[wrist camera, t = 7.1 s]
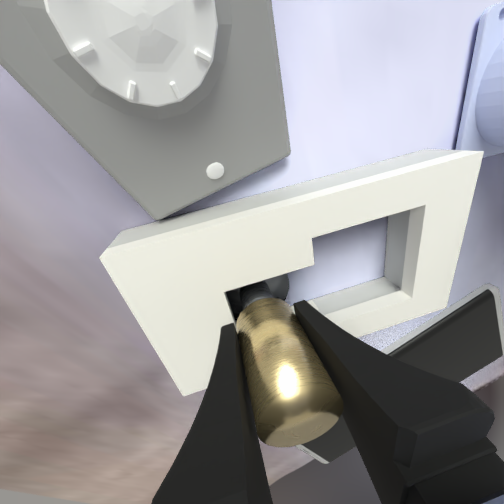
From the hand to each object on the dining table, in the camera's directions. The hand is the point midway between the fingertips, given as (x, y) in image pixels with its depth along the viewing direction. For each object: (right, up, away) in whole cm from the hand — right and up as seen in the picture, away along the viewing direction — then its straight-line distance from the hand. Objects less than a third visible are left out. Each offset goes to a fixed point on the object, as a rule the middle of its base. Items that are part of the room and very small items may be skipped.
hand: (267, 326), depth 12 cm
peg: (-1, +2, +4) cm, 5 cm away
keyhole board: (+2, +3, +5) cm, 6 cm away
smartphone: (+15, -11, +16) cm, 25 cm away
